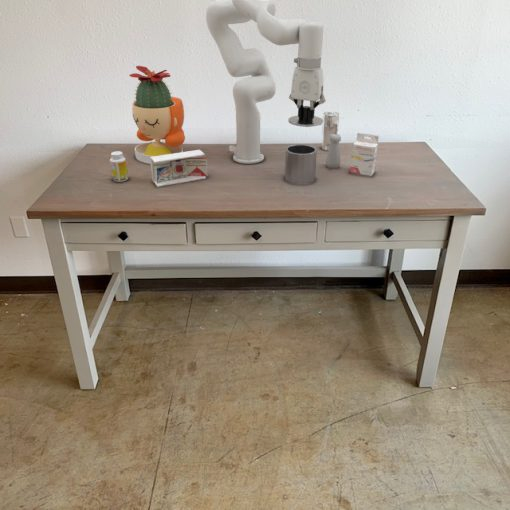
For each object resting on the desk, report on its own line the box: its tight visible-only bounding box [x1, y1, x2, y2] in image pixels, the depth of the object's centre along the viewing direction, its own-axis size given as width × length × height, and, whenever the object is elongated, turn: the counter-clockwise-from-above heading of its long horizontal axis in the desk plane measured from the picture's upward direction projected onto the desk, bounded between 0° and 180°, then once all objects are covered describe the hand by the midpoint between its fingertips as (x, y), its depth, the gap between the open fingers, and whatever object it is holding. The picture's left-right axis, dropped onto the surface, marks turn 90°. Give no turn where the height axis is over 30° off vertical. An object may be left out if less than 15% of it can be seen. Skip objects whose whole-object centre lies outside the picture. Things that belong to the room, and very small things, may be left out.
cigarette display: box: [150, 149, 208, 188], centre depth 176 cm, size 20×6×9 cm, turn 115°
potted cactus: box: [129, 65, 186, 165], centre depth 192 cm, size 22×22×35 cm
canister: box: [284, 143, 318, 185], centre depth 176 cm, size 11×11×12 cm
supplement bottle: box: [109, 150, 129, 183], centre depth 175 cm, size 6×6×10 cm
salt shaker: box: [325, 133, 342, 169], centre depth 186 cm, size 6×6×13 cm
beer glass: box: [321, 111, 340, 152], centre depth 205 cm, size 7×7×15 cm
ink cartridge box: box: [349, 132, 380, 177], centre depth 180 cm, size 9×5×15 cm, turn 65°
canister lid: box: [287, 105, 323, 128], centre depth 166 cm, size 12×12×6 cm
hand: (305, 119), depth 166 cm, fingers closed on canister lid, 2 cm apart
